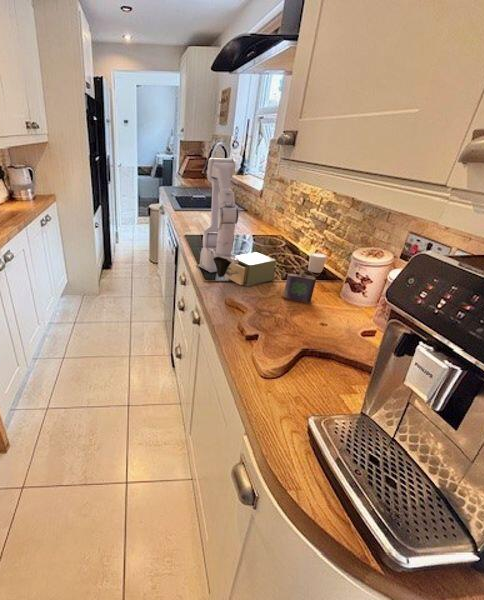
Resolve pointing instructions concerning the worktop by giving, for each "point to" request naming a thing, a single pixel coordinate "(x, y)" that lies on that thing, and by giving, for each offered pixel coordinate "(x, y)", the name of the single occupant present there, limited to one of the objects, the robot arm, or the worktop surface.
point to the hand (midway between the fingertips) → (221, 276)
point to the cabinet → (258, 268)
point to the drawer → (237, 273)
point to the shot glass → (317, 262)
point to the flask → (299, 287)
